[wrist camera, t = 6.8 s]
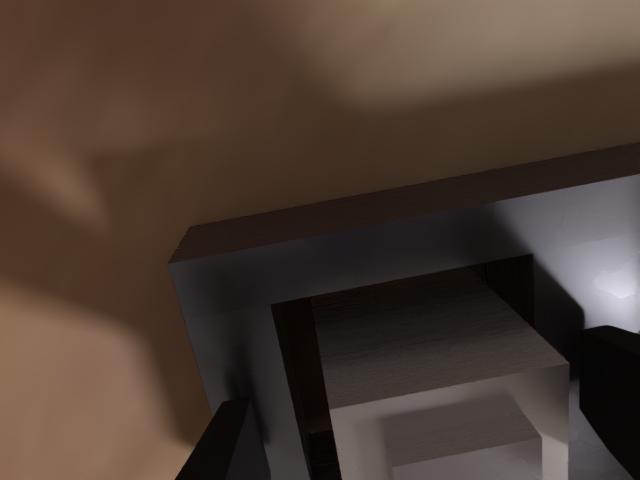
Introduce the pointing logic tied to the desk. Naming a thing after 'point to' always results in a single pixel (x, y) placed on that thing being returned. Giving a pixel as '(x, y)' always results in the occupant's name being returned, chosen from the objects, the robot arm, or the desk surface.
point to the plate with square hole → (412, 260)
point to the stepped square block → (440, 383)
